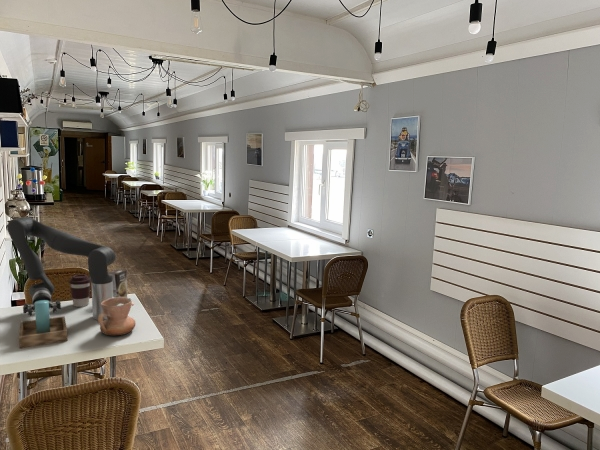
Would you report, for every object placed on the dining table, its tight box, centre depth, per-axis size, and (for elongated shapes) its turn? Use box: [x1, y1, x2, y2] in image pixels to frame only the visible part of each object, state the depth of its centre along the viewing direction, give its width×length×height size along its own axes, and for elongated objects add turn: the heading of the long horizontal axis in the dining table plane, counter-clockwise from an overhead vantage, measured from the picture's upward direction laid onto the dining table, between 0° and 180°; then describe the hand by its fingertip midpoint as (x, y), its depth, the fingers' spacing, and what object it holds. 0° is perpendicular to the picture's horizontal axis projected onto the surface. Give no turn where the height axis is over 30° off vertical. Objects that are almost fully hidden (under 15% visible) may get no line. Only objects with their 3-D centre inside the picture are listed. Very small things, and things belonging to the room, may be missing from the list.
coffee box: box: [108, 268, 128, 298], centre depth 242 cm, size 9×6×16 cm
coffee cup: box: [68, 273, 91, 308], centre depth 235 cm, size 10×10×15 cm
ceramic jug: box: [97, 296, 136, 336], centre depth 203 cm, size 18×14×14 cm
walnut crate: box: [18, 316, 68, 349], centre depth 197 cm, size 17×18×4 cm
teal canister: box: [34, 300, 51, 334], centre depth 196 cm, size 5×5×14 cm
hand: (42, 311), depth 197 cm, fingers open, 8 cm apart
